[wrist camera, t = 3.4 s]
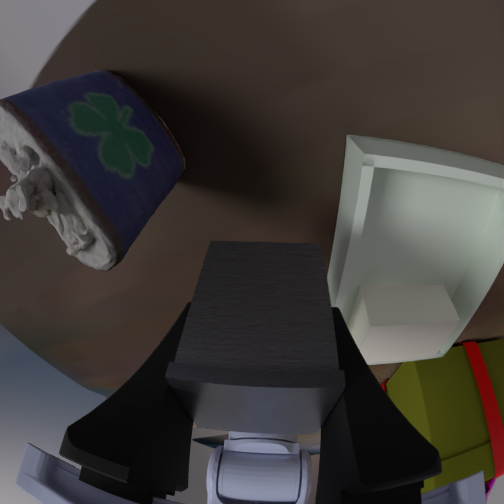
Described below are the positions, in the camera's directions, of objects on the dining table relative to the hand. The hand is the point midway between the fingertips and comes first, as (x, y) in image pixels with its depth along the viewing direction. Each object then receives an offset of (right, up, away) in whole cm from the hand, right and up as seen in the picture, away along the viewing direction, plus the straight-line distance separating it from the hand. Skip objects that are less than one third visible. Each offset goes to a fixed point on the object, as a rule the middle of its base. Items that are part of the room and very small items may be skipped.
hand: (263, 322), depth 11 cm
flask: (-7, +11, +4) cm, 14 cm away
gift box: (+25, -15, +21) cm, 36 cm away
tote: (+12, +2, +9) cm, 15 cm away
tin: (0, +1, +2) cm, 2 cm away
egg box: (+12, -2, +11) cm, 16 cm away
